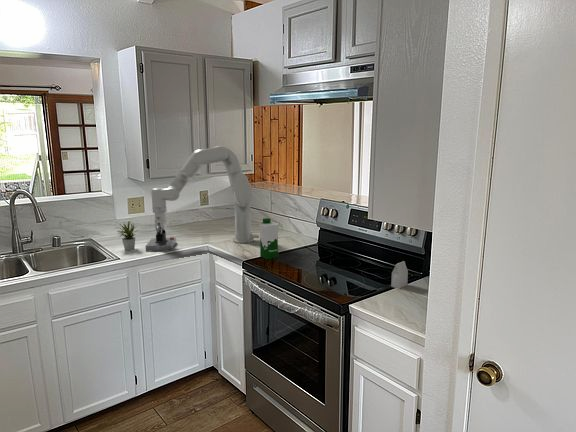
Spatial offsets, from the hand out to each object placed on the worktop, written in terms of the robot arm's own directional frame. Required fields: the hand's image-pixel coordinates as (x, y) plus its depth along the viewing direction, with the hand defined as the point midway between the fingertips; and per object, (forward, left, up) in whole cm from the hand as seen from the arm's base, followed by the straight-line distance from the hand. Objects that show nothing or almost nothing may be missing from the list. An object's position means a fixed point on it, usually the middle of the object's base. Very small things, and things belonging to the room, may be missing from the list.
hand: (161, 239), depth 246 cm
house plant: (+18, +2, -5) cm, 19 cm away
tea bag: (-111, +81, -5) cm, 137 cm away
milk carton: (-60, +30, -5) cm, 67 cm away
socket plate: (0, 0, -5) cm, 5 cm away
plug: (0, 0, -5) cm, 5 cm away
